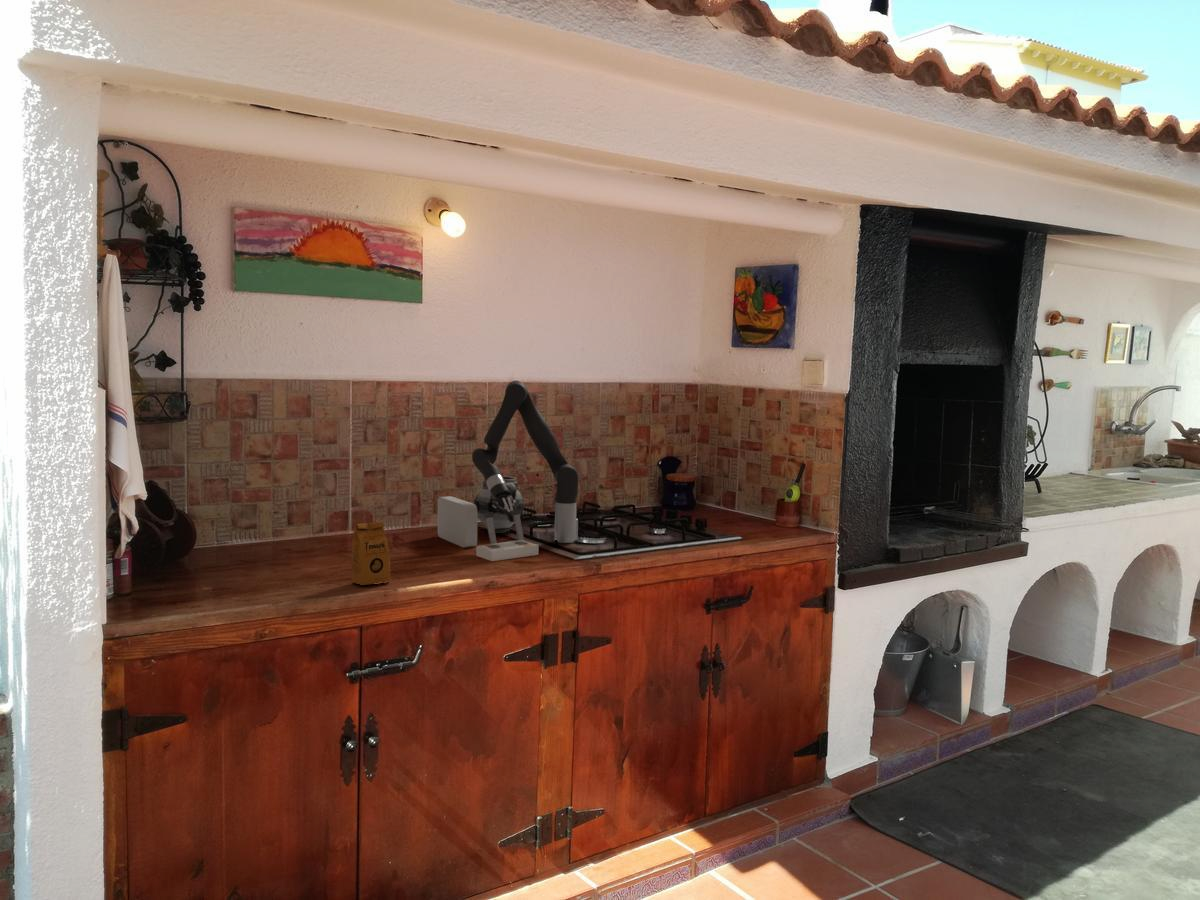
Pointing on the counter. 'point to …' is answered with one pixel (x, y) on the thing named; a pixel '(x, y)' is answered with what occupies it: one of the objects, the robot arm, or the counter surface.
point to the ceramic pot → (499, 520)
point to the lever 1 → (490, 527)
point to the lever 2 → (518, 523)
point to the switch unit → (507, 550)
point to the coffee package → (370, 554)
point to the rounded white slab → (457, 521)
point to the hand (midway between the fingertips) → (513, 521)
